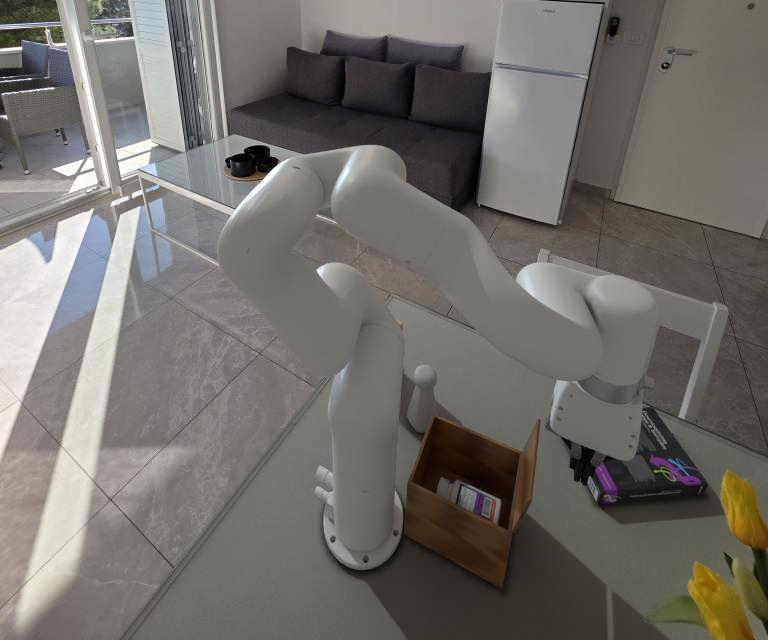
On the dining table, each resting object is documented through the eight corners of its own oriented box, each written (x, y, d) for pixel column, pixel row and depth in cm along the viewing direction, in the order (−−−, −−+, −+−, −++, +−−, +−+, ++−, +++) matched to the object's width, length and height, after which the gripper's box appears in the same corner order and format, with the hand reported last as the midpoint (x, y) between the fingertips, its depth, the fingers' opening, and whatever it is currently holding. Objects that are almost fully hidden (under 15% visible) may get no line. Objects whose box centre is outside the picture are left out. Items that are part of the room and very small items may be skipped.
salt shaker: (403, 431, 81) (406, 379, 77) (411, 405, 87) (414, 355, 82) (433, 442, 80) (437, 389, 76) (439, 414, 85) (444, 363, 81)
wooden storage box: (514, 501, 71) (523, 452, 67) (502, 589, 60) (512, 536, 57) (428, 460, 77) (432, 413, 73) (403, 534, 66) (407, 483, 63)
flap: (523, 448, 67) (525, 450, 67) (511, 532, 57) (514, 533, 57) (538, 418, 64) (540, 419, 64) (528, 499, 54) (532, 501, 54)
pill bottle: (496, 535, 67) (437, 505, 71) (503, 495, 68) (444, 467, 72) (493, 551, 62) (430, 517, 66) (500, 507, 64) (438, 477, 68)
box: (595, 507, 71) (706, 497, 72) (599, 493, 70) (711, 483, 71) (557, 424, 84) (651, 417, 85) (559, 411, 83) (655, 404, 84)
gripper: (669, 370, 54) (638, 471, 60) (544, 330, 60) (527, 426, 65) (680, 422, 47) (644, 530, 53) (538, 372, 53) (520, 474, 59)
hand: (580, 473), depth 59 cm, fingers closed
